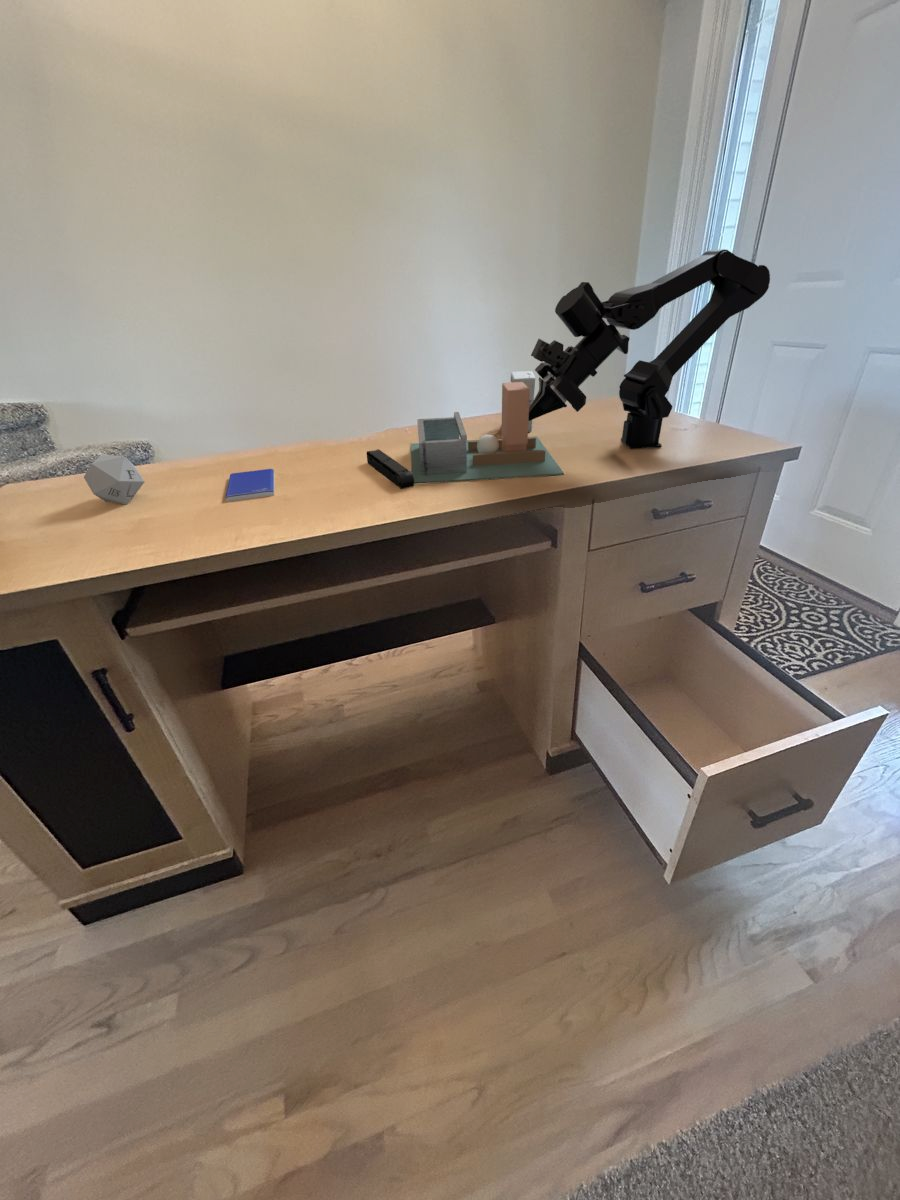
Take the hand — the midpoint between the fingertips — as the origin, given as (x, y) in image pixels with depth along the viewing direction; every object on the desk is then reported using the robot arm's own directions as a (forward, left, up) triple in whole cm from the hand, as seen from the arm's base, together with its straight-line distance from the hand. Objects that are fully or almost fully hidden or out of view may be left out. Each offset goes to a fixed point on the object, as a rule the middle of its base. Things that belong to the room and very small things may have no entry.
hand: (526, 418), depth 103 cm
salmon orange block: (+2, 0, -7) cm, 8 cm away
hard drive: (+53, +8, -8) cm, 54 cm away
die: (+75, +11, -8) cm, 76 cm away
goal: (+17, 0, -7) cm, 19 cm away
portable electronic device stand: (+27, +6, -8) cm, 29 cm away
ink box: (-3, -21, -8) cm, 23 cm away
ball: (+7, 0, -5) cm, 9 cm away
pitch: (+9, 0, -7) cm, 12 cm away
